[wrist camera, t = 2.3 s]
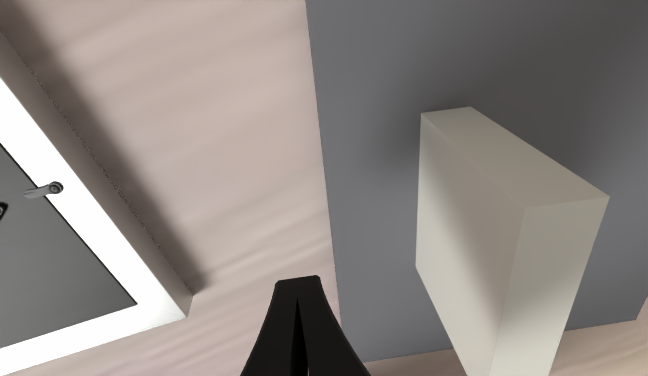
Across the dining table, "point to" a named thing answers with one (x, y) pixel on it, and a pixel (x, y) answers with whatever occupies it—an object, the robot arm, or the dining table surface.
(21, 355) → the picture frame
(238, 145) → the dining table surface
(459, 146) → the tile
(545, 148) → the mat
